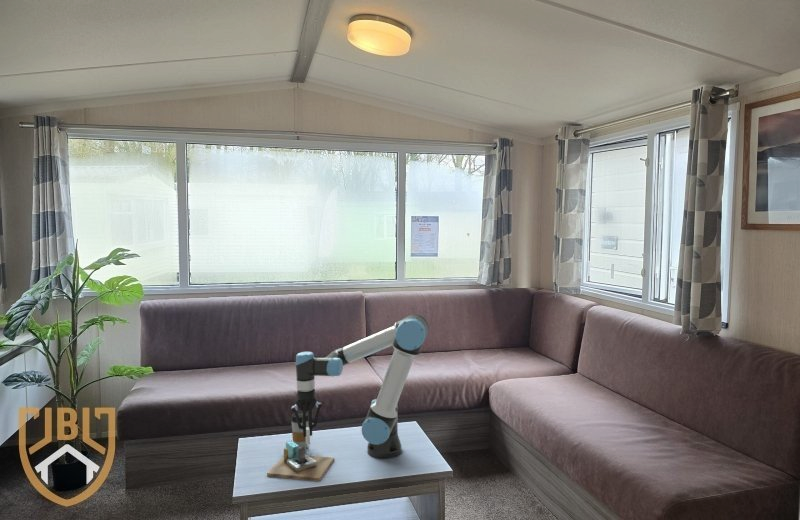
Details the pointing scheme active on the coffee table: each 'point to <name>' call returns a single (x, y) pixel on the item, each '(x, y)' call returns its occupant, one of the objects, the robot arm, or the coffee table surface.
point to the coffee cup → (299, 430)
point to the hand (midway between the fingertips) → (307, 443)
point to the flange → (294, 458)
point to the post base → (307, 474)
